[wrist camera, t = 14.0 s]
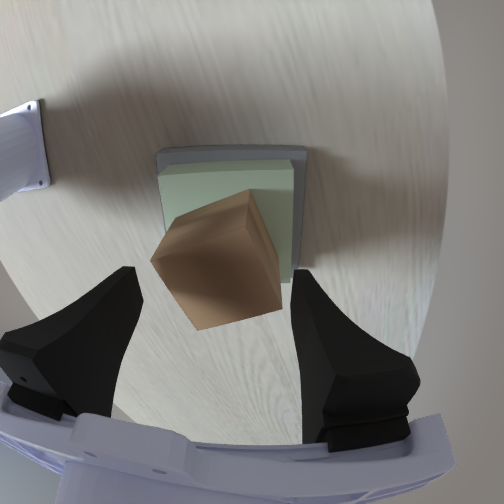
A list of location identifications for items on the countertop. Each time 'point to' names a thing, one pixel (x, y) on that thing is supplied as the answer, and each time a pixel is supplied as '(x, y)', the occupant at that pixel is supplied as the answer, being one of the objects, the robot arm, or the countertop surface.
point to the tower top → (232, 182)
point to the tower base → (249, 153)
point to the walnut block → (220, 263)
